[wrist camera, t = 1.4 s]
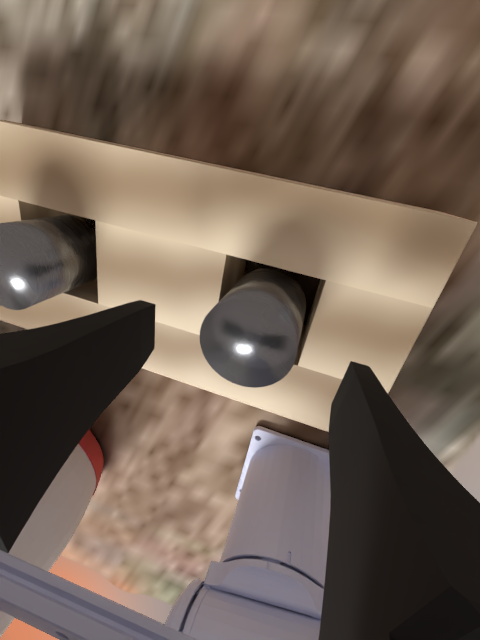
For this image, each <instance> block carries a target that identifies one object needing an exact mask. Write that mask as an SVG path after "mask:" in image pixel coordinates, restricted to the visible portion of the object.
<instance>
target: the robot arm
mask: <svg viewBox="0 0 480 640" xmlns="http://www.w3.org/2000/svg"><path fill="white" fill-rule="evenodd" d="M155 306H156V304H153V303H149V302H146V301H142V300H138V301H134V302H130V303H126V304H123V305H119V306H116V307H113V308H110V309H106V310H103V311H100V312H96V313H93V314H90V315H86V316H83V317H79V318H75V319H71V320H68V321H64V322H60V323H56V324H52V325H48V326H43V327H39V328H33V329H28V330H23V331H17V332H11V333H3V334H0V611H2V612H4V613H6V614H8V615H10V616H12V617H15V618H17V619H19V620H21V621H23V622H25V623H27V624H29V625H31V626H33V627H35V628H37V629H39V630H41V631H43V632H45V633H47V634H49V635H51V636H53V637H55V638H58V639H60V640H480V503H479V502H478V501H477V500H476V499H475V498H474V497H473V496H472V495H471V494H470V493H469V492H468V491H467V490H466V489H465V488H464V487H463V486H462V485H461V484H460V483H459V482H458V481H457V480H456V479H455V478H454V477H453V476H452V474H451V473H450V472H449V471H448V470H447V469H446V468H445V467H444V466H443V464H442V463H441V462H440V461H439V460H438V459H437V458H436V457H435V456H434V454H433V453H432V452H431V451H430V450H429V449H428V447H427V446H426V445H425V444H424V443H423V441H422V440H421V439H420V437H419V436H418V435H417V434H416V432H415V431H414V430H413V428H412V427H411V426H410V425H409V423H408V422H407V421H406V419H405V418H404V417H403V415H402V414H401V412H400V411H399V410H398V408H397V407H396V405H395V404H394V402H393V401H392V399H391V398H390V396H389V395H388V393H387V392H386V390H385V389H384V387H383V386H382V384H381V383H380V381H379V380H378V378H377V377H376V375H375V374H374V372H373V371H372V369H371V368H370V367H369V366H367V365H363V364H360V363H356V362H353V361H351V362H350V364H349V366H348V368H347V370H346V373H345V375H344V377H343V379H342V381H341V384H340V386H339V388H338V390H337V393H336V395H335V397H334V399H333V401H332V404H331V412H330V421H329V450H327V449H324V448H321V447H318V446H315V445H313V444H310V443H307V442H304V441H301V440H298V439H295V438H293V437H290V436H287V435H284V434H281V433H278V432H275V431H273V430H270V429H267V428H264V427H261V426H257V427H255V428H254V431H253V435H252V438H251V442H250V445H249V449H248V452H247V456H246V459H245V463H244V467H243V470H242V474H241V477H240V481H239V484H238V488H237V491H236V495H235V497H236V499H237V500H238V503H237V506H236V510H235V513H234V516H233V520H232V523H231V527H230V530H229V533H228V537H227V540H226V543H225V547H224V550H223V553H222V557H221V560H220V562H216V561H211V563H210V566H209V569H208V572H207V575H206V579H205V580H203V579H200V578H197V579H195V580H193V581H192V582H191V583H190V584H189V585H188V587H187V588H186V589H185V590H184V591H183V592H182V593H181V594H180V595H179V597H178V598H177V600H176V601H175V603H174V605H173V607H172V609H171V611H170V613H169V615H168V618H167V620H166V622H165V624H162V623H160V622H158V621H156V620H154V619H151V618H149V617H147V616H145V615H143V614H140V613H138V612H136V611H134V610H131V609H129V608H127V607H125V606H123V605H121V604H118V603H116V602H114V601H112V600H109V599H107V598H105V597H103V596H101V595H98V594H96V593H94V592H92V591H90V590H87V589H85V588H83V587H81V586H79V585H76V584H74V583H72V582H70V581H67V580H65V579H63V578H61V577H59V576H57V575H54V574H52V573H50V572H48V571H46V570H43V569H41V568H39V567H37V566H35V565H32V564H30V563H28V562H26V561H24V560H21V559H19V558H17V557H15V556H13V555H10V554H8V553H9V552H10V550H11V548H12V546H13V545H14V543H15V541H16V539H17V538H18V536H19V534H20V533H21V531H22V529H23V528H24V526H25V524H26V523H27V521H28V520H29V518H30V516H31V515H32V513H33V511H34V510H35V508H36V506H37V505H38V503H39V502H40V500H41V498H42V497H43V495H44V494H45V492H46V491H47V489H48V488H49V486H50V485H51V483H52V481H53V480H54V478H55V477H56V475H57V474H58V472H59V471H60V469H61V468H62V466H63V465H64V463H65V462H66V461H67V459H68V458H69V456H70V455H71V453H72V452H73V450H74V449H75V447H76V446H77V445H78V443H79V442H80V441H81V439H82V438H83V436H84V435H85V434H86V432H87V431H88V430H89V428H90V427H91V426H92V424H93V423H94V422H95V420H96V419H97V418H98V417H99V416H100V414H101V413H102V412H103V411H104V410H105V409H106V408H107V406H108V405H109V404H110V403H111V402H112V401H113V400H114V399H115V398H116V396H117V395H118V394H119V393H120V392H121V391H122V390H123V389H124V388H125V387H126V385H127V384H128V383H129V382H130V381H131V380H132V379H133V377H134V376H135V375H136V374H137V373H138V372H139V371H140V369H141V368H142V367H143V365H144V364H145V362H146V361H147V359H148V358H149V356H150V355H151V353H152V352H153V350H154V348H155ZM257 436H259V437H257Z"/></svg>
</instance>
